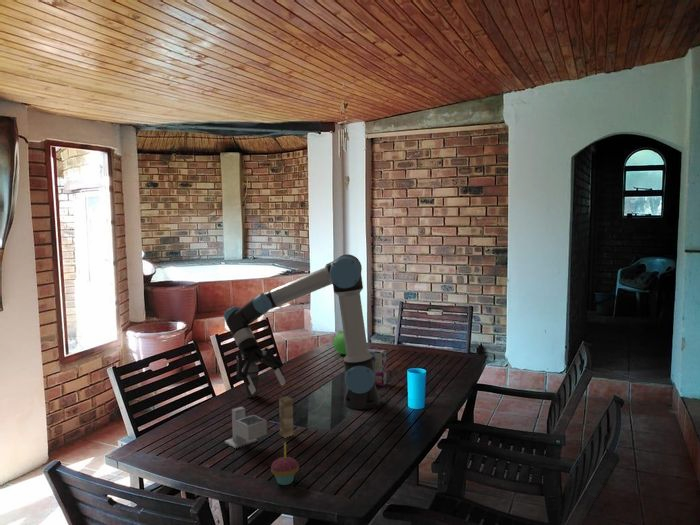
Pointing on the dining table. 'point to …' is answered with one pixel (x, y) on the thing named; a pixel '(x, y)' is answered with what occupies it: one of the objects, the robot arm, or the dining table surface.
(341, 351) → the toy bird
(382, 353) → the candy bar box
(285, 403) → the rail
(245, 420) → the bracket
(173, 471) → the dining table surface
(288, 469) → the cupcake
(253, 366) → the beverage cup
